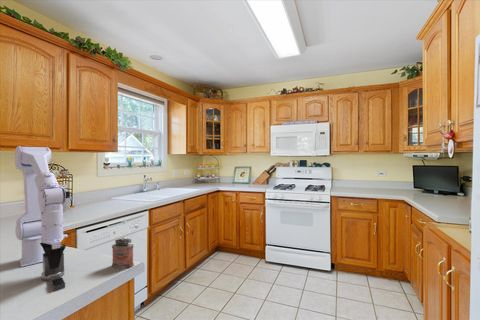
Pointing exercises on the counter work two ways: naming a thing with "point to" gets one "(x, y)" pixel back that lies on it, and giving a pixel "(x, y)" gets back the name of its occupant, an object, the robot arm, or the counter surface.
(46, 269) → the brushed dark grey cube
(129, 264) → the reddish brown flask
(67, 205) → the glass holder
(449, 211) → the counter surface
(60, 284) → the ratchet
